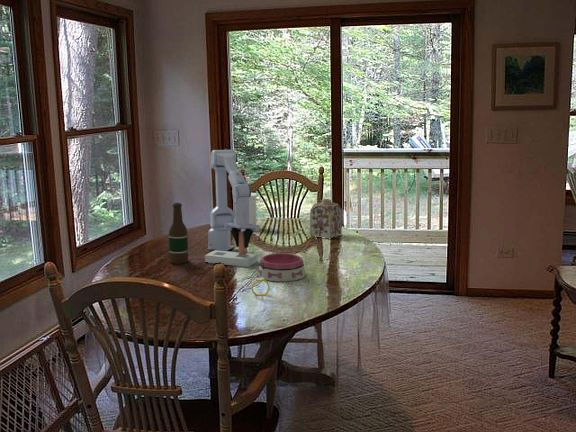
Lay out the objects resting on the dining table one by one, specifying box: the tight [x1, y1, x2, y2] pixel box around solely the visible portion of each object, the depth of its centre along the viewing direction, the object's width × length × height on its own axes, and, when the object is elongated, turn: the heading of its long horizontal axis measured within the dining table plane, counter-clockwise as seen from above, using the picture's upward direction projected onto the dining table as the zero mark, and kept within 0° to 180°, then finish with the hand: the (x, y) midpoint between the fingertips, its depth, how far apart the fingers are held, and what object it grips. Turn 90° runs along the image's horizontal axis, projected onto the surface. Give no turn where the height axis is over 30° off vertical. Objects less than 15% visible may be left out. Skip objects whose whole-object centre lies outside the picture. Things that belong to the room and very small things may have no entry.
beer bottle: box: [168, 202, 189, 265], centre depth 241 cm, size 8×8×24 cm
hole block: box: [204, 250, 258, 268], centre depth 243 cm, size 19×9×3 cm, turn 71°
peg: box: [238, 231, 247, 255], centre depth 240 cm, size 3×3×9 cm
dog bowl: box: [256, 252, 307, 283], centre depth 224 cm, size 18×19×7 cm
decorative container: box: [241, 192, 258, 232], centre depth 303 cm, size 12×12×18 cm
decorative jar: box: [309, 198, 343, 238], centre depth 288 cm, size 12×12×18 cm
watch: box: [251, 277, 270, 297], centre depth 201 cm, size 6×3×6 cm, turn 95°
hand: (242, 246), depth 240 cm, fingers closed on peg, 3 cm apart
